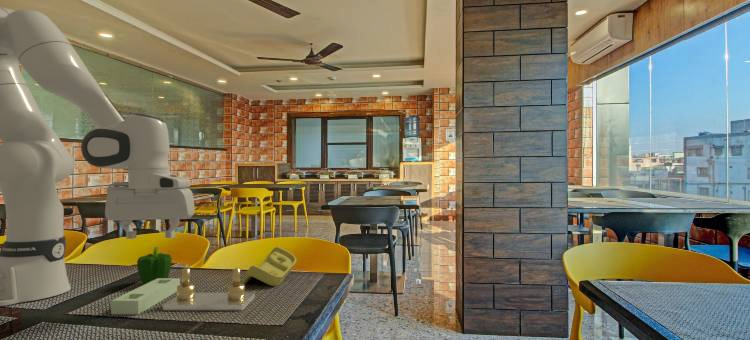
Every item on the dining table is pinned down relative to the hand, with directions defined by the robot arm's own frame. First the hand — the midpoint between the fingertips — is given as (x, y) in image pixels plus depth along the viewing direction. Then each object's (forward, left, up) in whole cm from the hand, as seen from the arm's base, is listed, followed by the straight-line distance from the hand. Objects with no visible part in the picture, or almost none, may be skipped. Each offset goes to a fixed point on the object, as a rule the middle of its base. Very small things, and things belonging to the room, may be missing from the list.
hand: (150, 238), depth 94 cm
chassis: (+16, -2, -15) cm, 22 cm away
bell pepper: (-7, +15, -15) cm, 23 cm away
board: (0, 0, -15) cm, 15 cm away
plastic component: (+24, +21, -16) cm, 36 cm away
